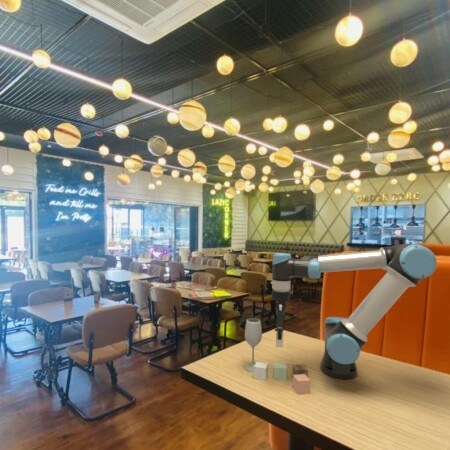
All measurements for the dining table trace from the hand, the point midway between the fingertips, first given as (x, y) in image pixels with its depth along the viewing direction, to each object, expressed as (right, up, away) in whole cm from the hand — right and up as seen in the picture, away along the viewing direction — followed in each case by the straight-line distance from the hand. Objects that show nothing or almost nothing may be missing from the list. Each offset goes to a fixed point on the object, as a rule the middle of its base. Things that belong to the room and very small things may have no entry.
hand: (279, 341), depth 127 cm
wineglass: (-10, -15, +8) cm, 20 cm away
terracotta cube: (+7, -15, -11) cm, 19 cm away
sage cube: (0, -15, 0) cm, 15 cm away
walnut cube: (+8, -15, -2) cm, 17 cm away
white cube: (-8, -15, 0) cm, 17 cm away
